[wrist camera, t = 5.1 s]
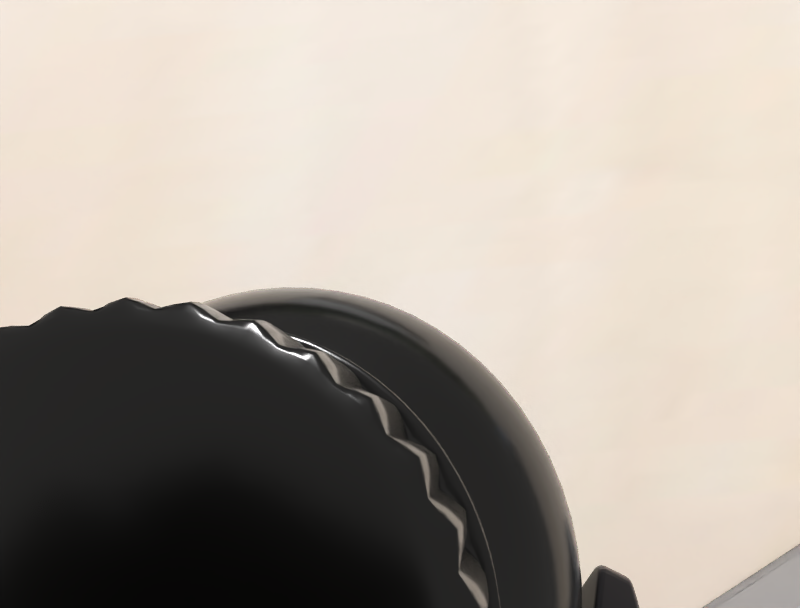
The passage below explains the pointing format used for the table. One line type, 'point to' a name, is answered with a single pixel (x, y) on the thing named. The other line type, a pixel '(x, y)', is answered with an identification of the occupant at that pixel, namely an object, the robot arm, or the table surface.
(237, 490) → the supplement bottle
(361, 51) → the table surface
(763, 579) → the bin
